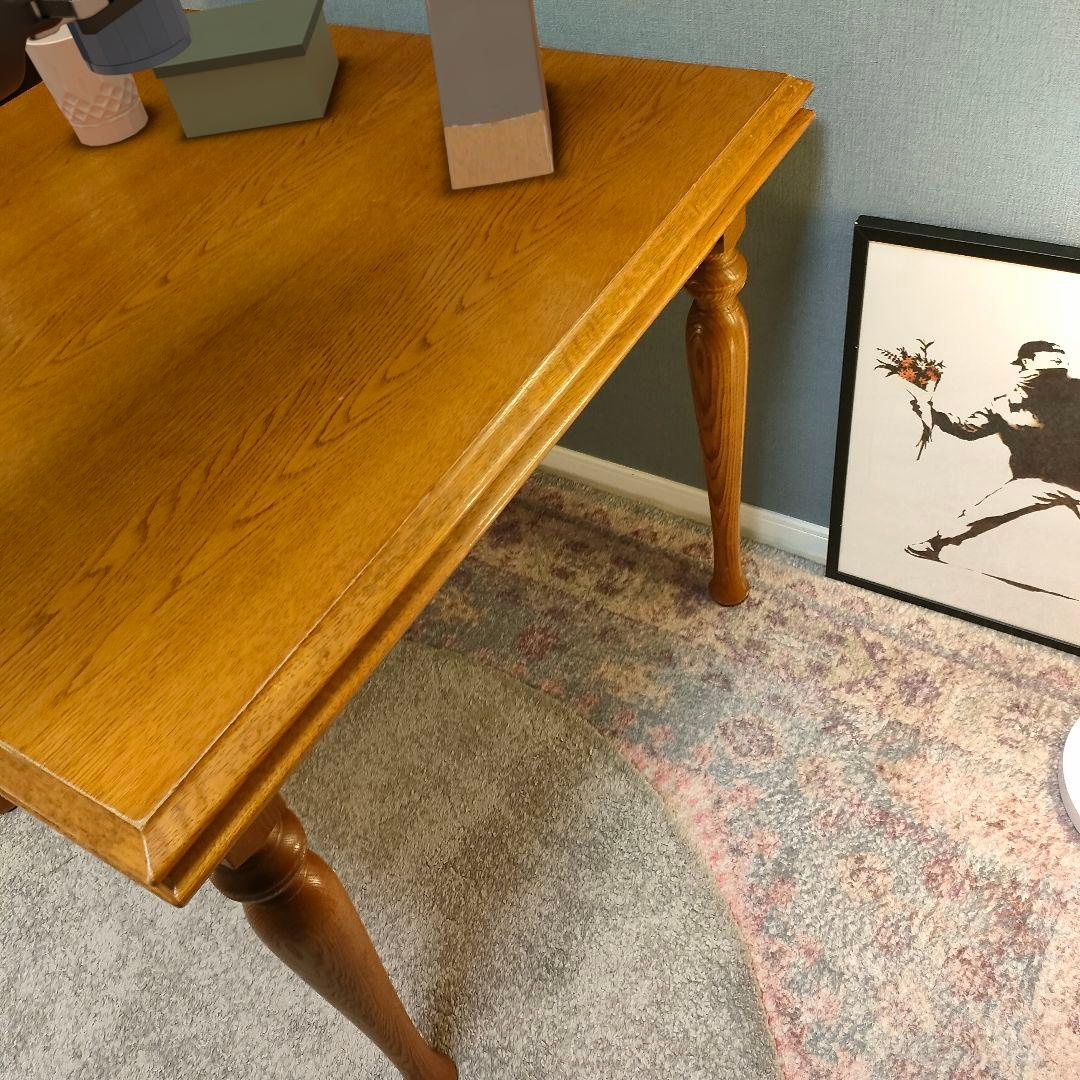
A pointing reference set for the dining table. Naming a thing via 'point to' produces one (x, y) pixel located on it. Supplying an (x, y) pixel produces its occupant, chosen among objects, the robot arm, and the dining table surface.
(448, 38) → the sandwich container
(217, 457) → the dining table surface
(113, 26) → the blue cup
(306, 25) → the storage box
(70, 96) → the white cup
